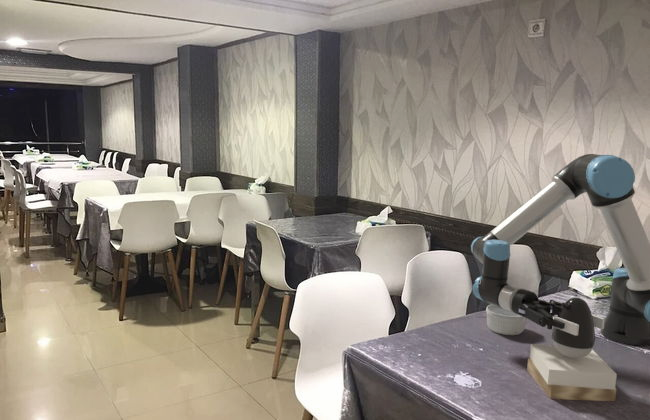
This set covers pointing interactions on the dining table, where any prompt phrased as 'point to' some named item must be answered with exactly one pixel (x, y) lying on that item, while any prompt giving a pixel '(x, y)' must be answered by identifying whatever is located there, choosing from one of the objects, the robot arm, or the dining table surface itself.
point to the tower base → (570, 389)
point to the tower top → (572, 368)
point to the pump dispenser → (585, 340)
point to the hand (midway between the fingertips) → (590, 327)
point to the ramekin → (504, 321)
